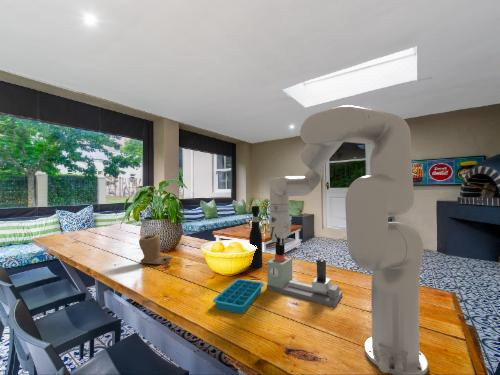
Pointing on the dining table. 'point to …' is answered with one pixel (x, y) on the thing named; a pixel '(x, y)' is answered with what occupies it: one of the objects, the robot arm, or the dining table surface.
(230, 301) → the ice cube tray
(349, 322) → the dining table surface
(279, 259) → the button
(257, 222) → the wine bottle
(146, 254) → the brown boot
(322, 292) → the carriage
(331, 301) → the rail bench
